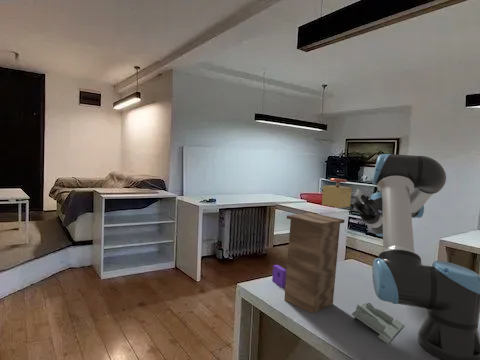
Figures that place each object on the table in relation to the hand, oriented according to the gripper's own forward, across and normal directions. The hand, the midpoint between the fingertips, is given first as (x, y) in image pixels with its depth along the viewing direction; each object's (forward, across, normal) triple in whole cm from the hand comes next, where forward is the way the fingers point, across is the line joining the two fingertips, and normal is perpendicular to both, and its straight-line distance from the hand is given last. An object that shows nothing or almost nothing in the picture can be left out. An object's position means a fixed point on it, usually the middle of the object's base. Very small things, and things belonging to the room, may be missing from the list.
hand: (351, 191), depth 127 cm
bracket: (-7, +15, -41) cm, 44 cm away
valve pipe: (0, 0, -5) cm, 6 cm away
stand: (+1, 0, -45) cm, 45 cm away
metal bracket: (-3, -22, -44) cm, 49 cm away
